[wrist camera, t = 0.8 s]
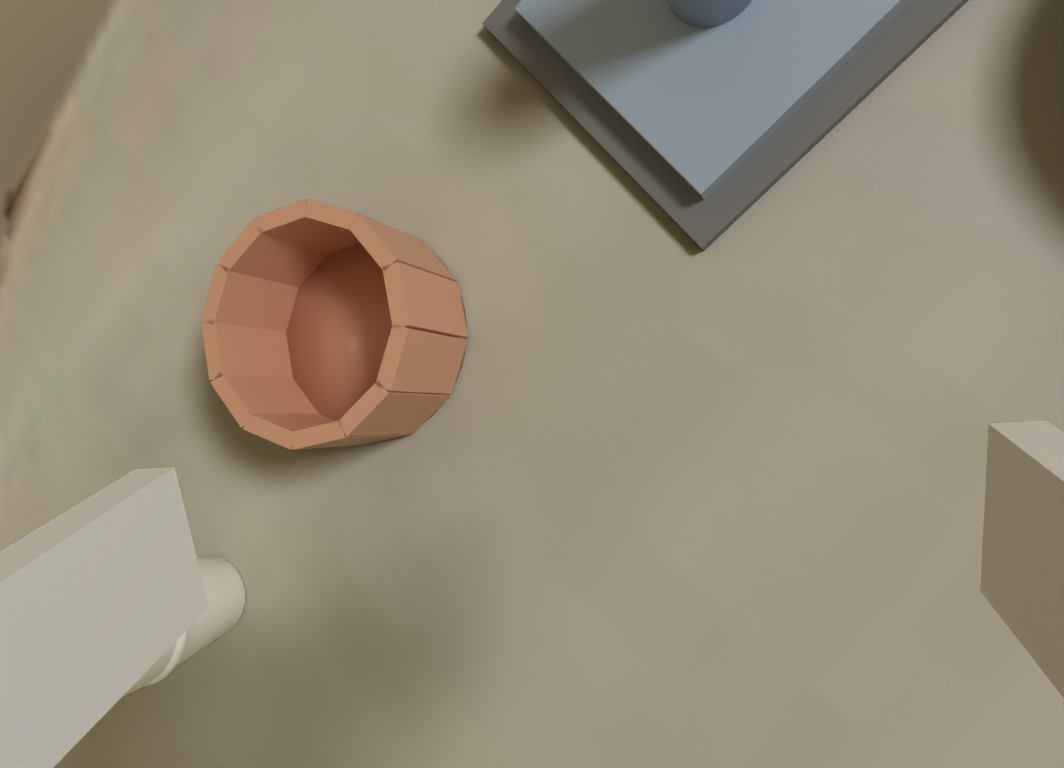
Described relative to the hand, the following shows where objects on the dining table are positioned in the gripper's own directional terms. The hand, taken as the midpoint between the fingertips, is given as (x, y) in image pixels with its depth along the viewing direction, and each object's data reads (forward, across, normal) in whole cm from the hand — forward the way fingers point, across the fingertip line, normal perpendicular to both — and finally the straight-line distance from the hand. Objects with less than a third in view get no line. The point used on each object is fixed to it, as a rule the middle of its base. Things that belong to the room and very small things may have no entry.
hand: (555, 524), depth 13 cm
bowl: (+27, +13, +2) cm, 30 cm away
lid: (+27, -5, -12) cm, 30 cm away
